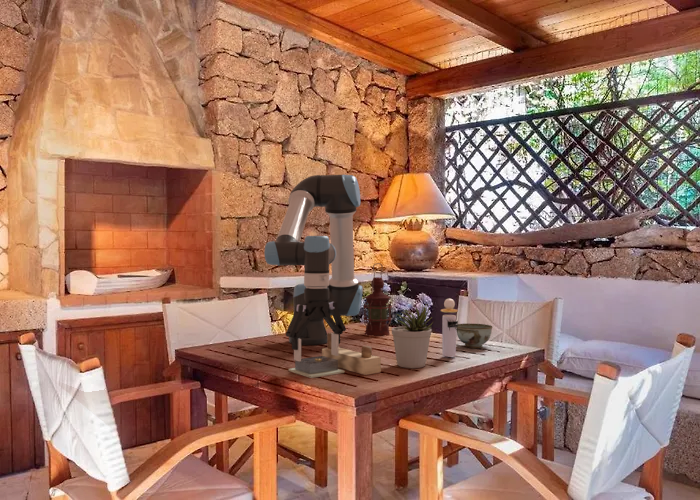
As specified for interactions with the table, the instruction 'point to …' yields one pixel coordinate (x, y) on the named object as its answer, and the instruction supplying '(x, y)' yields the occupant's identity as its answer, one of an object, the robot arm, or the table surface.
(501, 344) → the table surface
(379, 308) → the lantern
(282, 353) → the table surface
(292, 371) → the felt pad
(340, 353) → the body
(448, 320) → the perfume bottle
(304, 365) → the grey block with knob
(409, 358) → the potted plant
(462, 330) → the bowl
